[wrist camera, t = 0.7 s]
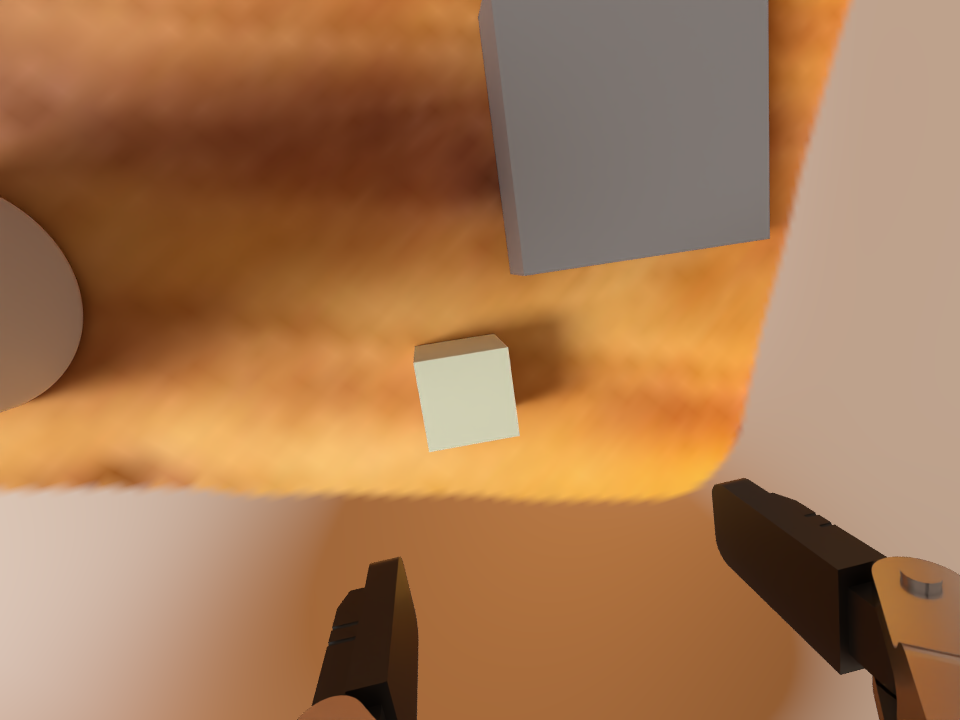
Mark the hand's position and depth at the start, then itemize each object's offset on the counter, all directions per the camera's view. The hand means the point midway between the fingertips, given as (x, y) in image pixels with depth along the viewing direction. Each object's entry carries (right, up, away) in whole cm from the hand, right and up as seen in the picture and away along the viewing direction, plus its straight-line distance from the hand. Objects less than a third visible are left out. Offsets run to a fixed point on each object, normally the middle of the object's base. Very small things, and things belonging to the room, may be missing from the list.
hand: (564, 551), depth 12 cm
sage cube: (-3, +4, +18) cm, 19 cm away
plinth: (+6, +18, +16) cm, 25 cm away
